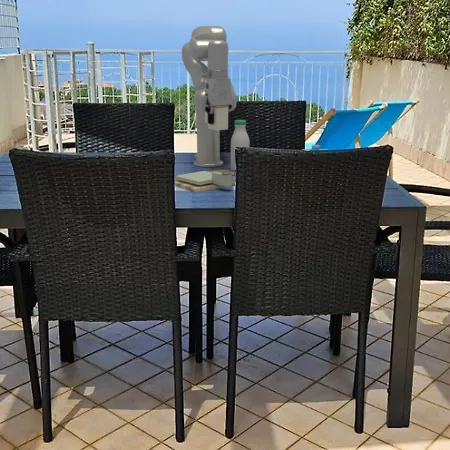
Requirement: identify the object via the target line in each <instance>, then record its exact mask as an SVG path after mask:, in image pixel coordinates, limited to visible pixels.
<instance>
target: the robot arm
mask: <svg viewBox="0 0 450 450" xmlns="http://www.w3.org/2000/svg"><path fill="white" fill-rule="evenodd" d="M190 36H191V37H190V39H189V41H188V42H186V43H184V44H183V45H182V47H181V57H182V63H183V65H184V67H185V70H186V71H187V73H188V74H189V76H190V77H191V81H192V85H193V90H194V91H195V93H194V95H193V102H194V108H195V117H196V153H195V154H194V155H193V156H194V158H196V160H194V161H193V165H194V166H196V167H200V168H201V167H202V168H213V167H214V168H215V167H220V166H223V165H224V161H223V160H221V159H220V158H221V157H220V154H221V153H220V152H221V151H220V148H221V147H220V146H221V145H220V130H212V129H208V124H214V114H213V110H214V106H225V105H229V107H228V113H230V112H232V111H234V110H235V109H236V107H237V104H238V103H237V95H236V92H235V88H234V85H233V82H232V80H231V77H230V76H229V44H228V42H227V38H228V37H227V32H226V30H225V28H224V27H222V26H219V25H218V26H215V25H201V26H197V27H195V28H193V30H192V32H191V35H190ZM203 62H207V65H206V64H205V63H203ZM207 105H208V106H207ZM210 107H211V108H210ZM205 112H206V113H208V123H207V122H205Z"/></svg>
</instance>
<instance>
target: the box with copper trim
mask: <svg viewBox="0 0 450 450" xmlns="http://www.w3.org/2000/svg"><path fill="white" fill-rule="evenodd" d="M207 106H208V105H207ZM228 107H229V105H225V106H214V110H213V114H214V124H208V129H212V130H219V131H225V130H229V112H228ZM210 108H211V107H210ZM205 122H207V123H208V113H206V112H205Z"/></svg>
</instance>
